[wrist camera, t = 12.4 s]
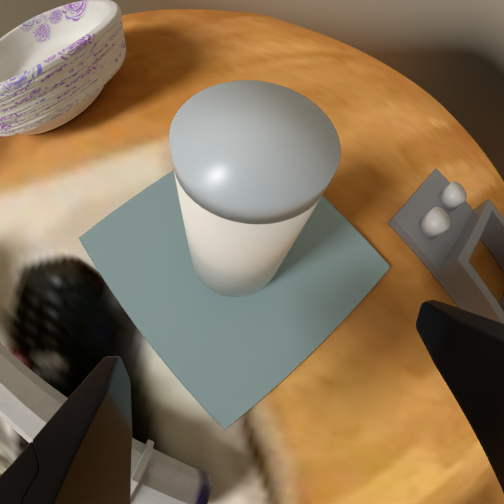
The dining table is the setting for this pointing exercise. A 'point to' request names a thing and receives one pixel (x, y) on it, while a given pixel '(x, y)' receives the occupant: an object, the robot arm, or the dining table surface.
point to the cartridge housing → (453, 241)
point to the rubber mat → (229, 298)
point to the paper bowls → (58, 65)
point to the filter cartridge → (248, 178)
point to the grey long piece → (143, 455)
